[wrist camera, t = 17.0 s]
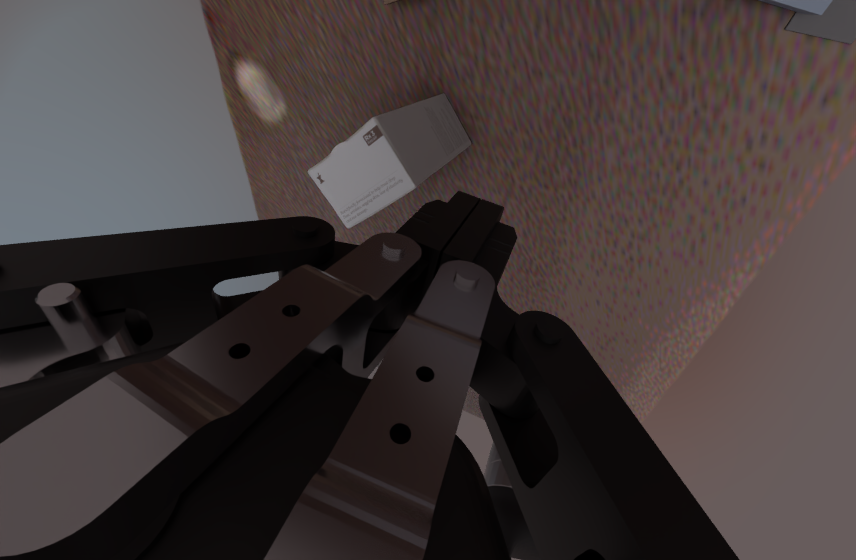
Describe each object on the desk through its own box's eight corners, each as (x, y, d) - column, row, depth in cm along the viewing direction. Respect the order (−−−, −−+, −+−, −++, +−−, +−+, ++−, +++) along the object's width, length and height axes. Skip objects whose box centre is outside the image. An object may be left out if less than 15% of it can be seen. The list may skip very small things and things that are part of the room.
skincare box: (417, 178, 42) (346, 235, 31) (387, 131, 41) (301, 174, 30) (476, 140, 37) (418, 193, 26) (446, 85, 36) (368, 116, 25)
